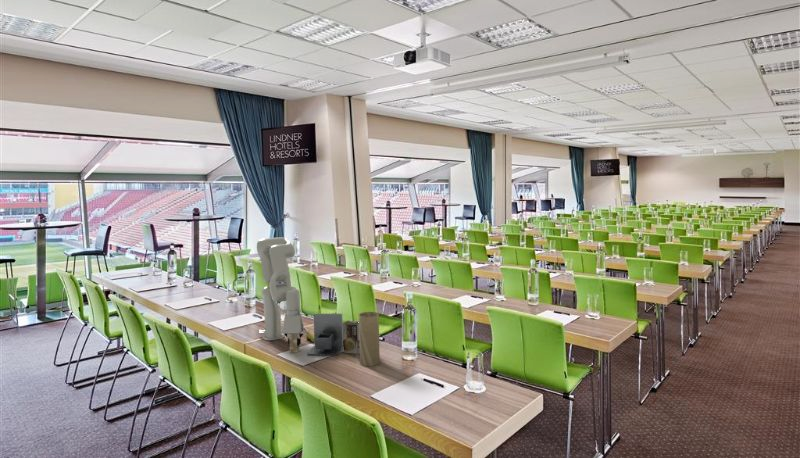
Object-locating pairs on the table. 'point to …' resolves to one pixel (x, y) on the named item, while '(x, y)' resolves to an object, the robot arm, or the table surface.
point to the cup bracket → (327, 334)
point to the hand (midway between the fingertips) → (294, 344)
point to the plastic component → (310, 336)
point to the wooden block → (293, 343)
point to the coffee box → (351, 337)
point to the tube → (369, 338)
